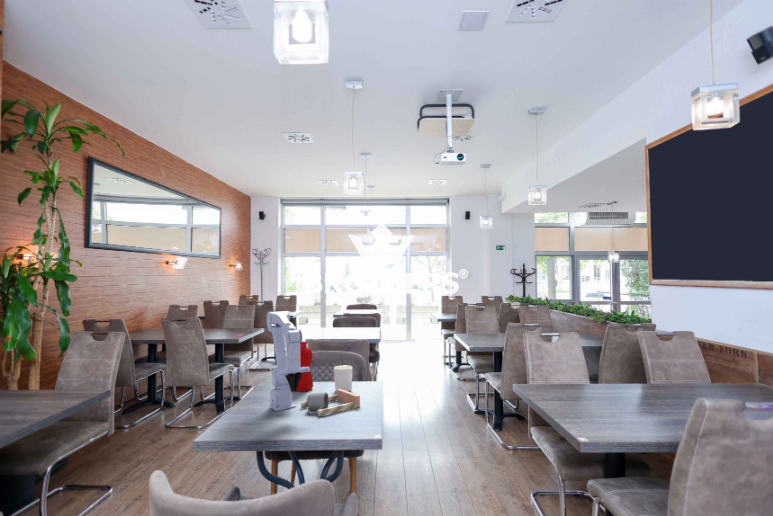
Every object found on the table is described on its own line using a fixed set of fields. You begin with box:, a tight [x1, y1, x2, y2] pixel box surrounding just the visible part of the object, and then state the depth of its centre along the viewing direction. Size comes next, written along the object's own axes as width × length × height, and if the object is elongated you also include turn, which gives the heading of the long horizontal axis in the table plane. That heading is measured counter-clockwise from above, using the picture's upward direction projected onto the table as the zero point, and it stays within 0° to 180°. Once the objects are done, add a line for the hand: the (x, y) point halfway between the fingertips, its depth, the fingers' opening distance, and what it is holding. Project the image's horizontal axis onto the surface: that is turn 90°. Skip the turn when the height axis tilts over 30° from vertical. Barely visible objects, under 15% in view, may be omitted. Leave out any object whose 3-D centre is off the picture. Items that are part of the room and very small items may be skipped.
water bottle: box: [296, 340, 314, 393], centre depth 223 cm, size 9×11×25 cm
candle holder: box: [333, 365, 354, 393], centre depth 218 cm, size 10×10×12 cm
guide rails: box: [300, 394, 357, 418], centre depth 190 cm, size 19×16×2 cm
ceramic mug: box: [306, 392, 330, 415], centre depth 186 cm, size 11×8×8 cm
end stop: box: [336, 389, 361, 409], centre depth 196 cm, size 2×16×5 cm, turn 38°
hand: (293, 391), depth 179 cm, fingers closed
